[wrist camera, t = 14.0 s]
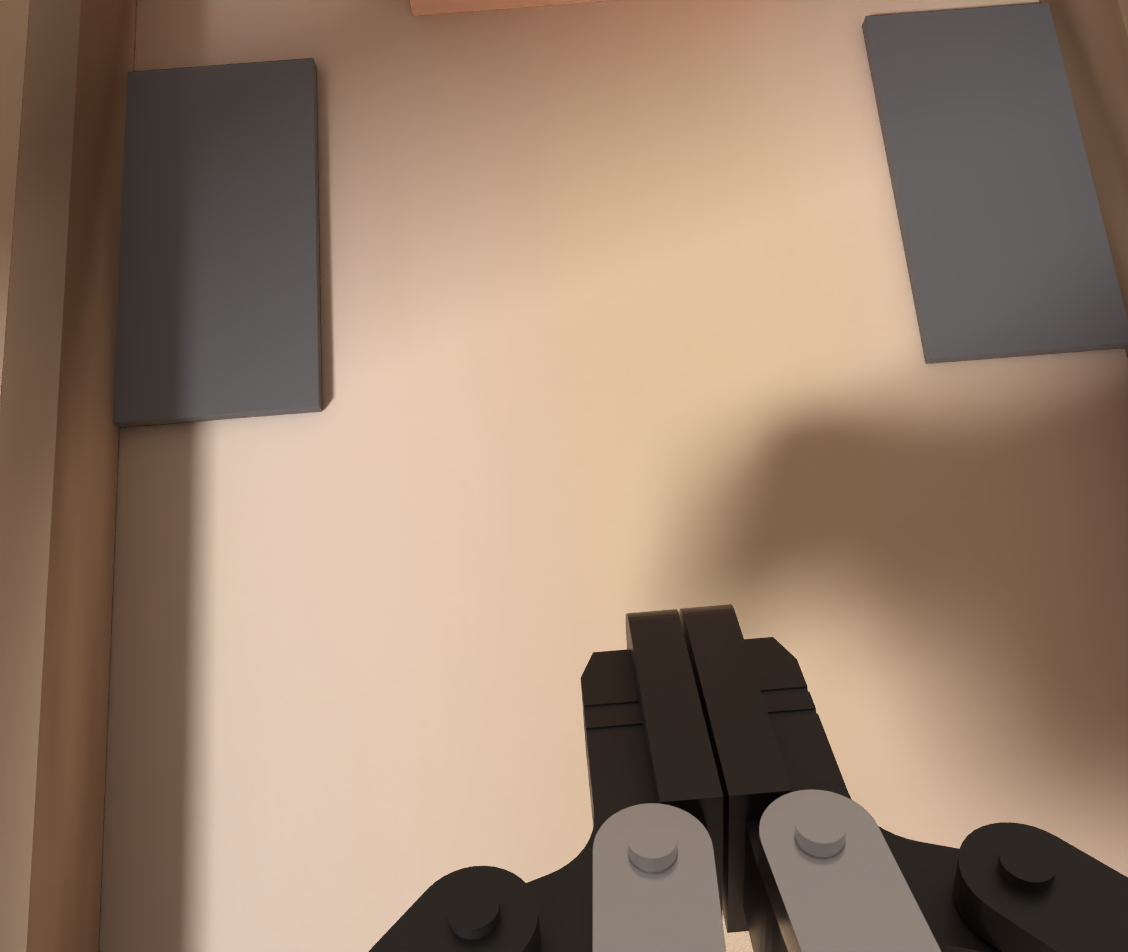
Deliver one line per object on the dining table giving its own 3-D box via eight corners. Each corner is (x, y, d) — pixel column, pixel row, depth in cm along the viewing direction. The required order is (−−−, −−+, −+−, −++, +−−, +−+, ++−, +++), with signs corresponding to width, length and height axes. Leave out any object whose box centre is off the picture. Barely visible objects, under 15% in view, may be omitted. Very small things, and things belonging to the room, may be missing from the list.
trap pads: (119, 427, 21) (112, 422, 20) (133, 80, 23) (127, 71, 23) (1125, 347, 21) (1132, 342, 21) (1042, 11, 23) (1048, 2, 23)
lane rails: (23, 1259, 17) (-199, 1452, 12) (116, -447, 27) (17, -708, 23) (1383, 1140, 17) (1700, 1283, 12) (953, -506, 28) (1033, -777, 23)
